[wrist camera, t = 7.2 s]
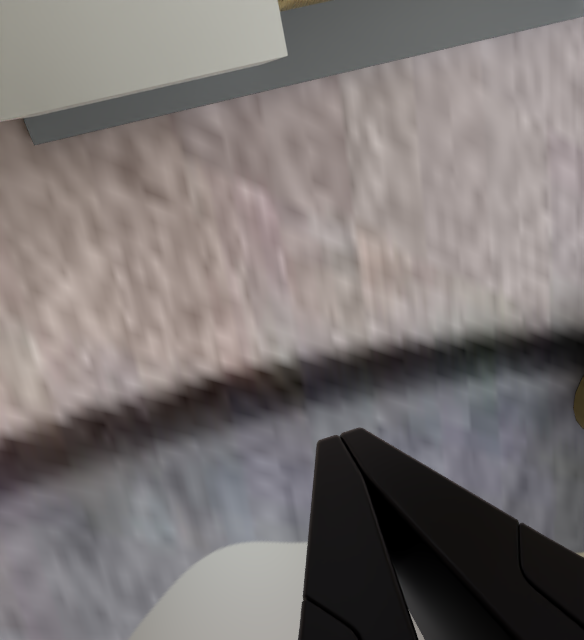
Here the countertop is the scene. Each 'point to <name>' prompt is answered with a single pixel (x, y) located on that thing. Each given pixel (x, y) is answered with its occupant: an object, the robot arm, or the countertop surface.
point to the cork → (579, 404)
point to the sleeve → (124, 47)
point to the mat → (322, 53)
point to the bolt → (297, 3)
